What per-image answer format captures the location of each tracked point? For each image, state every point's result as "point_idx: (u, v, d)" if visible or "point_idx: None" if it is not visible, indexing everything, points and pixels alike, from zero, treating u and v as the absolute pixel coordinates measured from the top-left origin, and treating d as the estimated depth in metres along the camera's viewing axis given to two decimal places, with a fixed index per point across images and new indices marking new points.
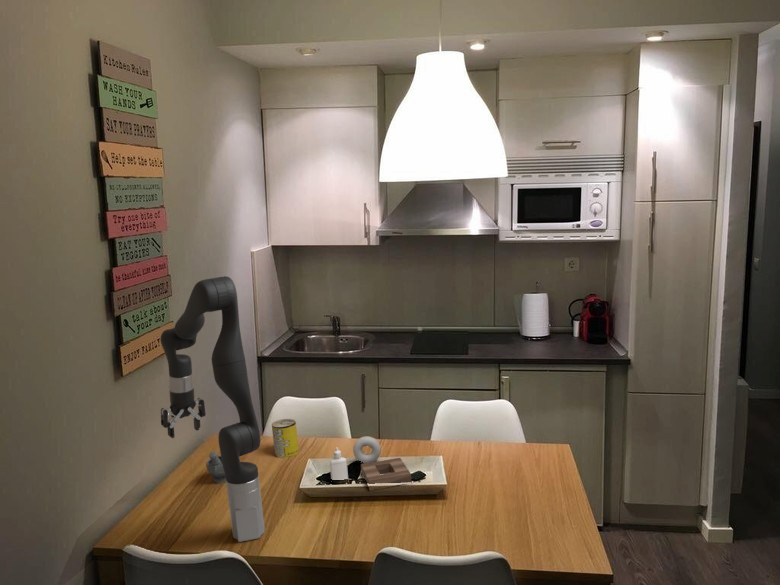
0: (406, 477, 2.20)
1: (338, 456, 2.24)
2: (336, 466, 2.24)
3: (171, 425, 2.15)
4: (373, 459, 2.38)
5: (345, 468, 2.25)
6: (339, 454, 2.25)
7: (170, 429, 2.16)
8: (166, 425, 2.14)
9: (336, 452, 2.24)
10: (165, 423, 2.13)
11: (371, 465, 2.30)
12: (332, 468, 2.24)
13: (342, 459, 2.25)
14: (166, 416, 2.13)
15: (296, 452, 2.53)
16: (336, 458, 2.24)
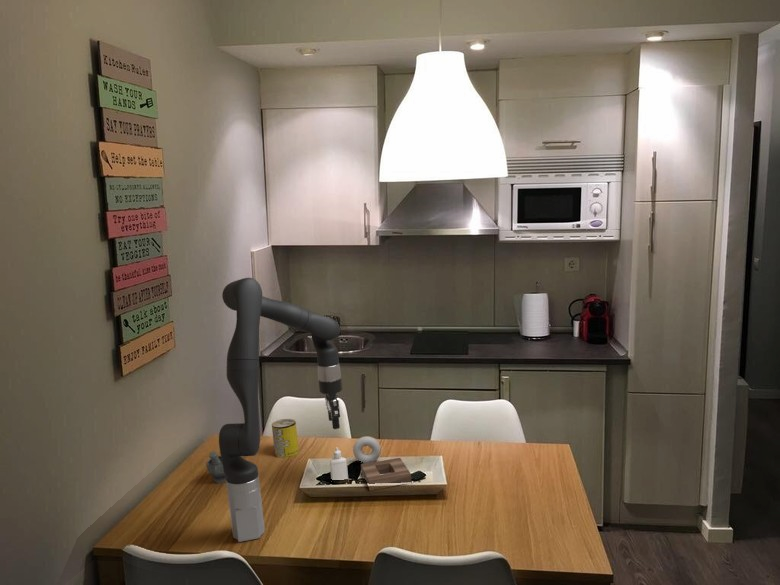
0: (406, 477, 2.20)
1: (338, 456, 2.24)
2: (336, 466, 2.24)
3: (327, 407, 2.27)
4: (373, 459, 2.38)
5: (345, 468, 2.25)
6: (339, 454, 2.25)
7: (328, 410, 2.28)
8: None
9: (336, 452, 2.24)
10: None
11: (371, 465, 2.30)
12: (332, 468, 2.24)
13: (342, 459, 2.25)
14: (325, 395, 2.28)
15: (296, 452, 2.53)
16: (336, 458, 2.24)
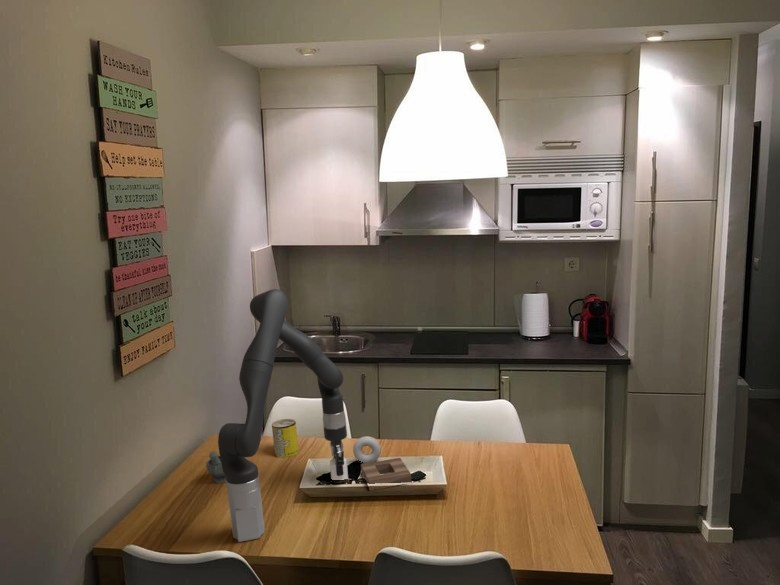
0: (406, 477, 2.20)
1: None
2: None
3: None
4: (373, 459, 2.38)
5: (345, 468, 2.25)
6: None
7: None
8: None
9: None
10: None
11: (371, 465, 2.30)
12: (332, 468, 2.24)
13: None
14: None
15: (296, 452, 2.53)
16: None
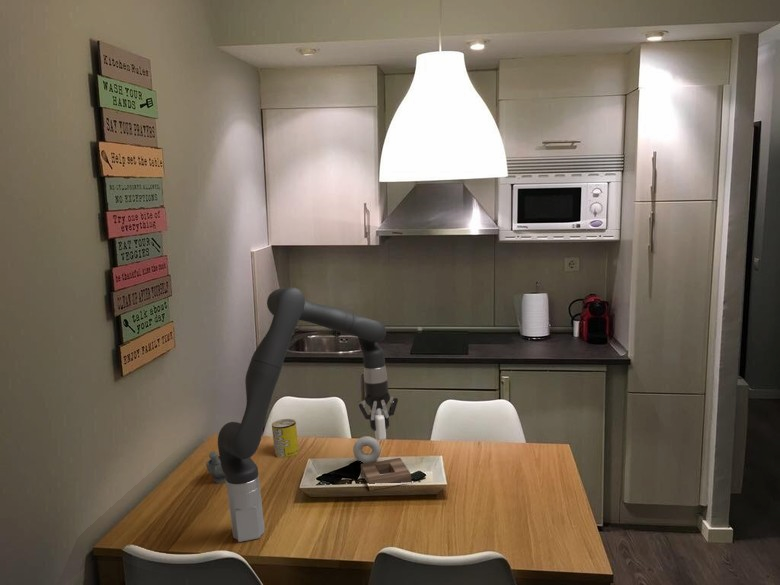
0: (406, 477, 2.20)
1: None
2: (384, 420, 2.24)
3: (372, 417, 2.22)
4: (373, 459, 2.38)
5: None
6: None
7: (371, 421, 2.23)
8: (367, 416, 2.21)
9: None
10: (365, 415, 2.21)
11: (371, 465, 2.30)
12: (384, 423, 2.22)
13: None
14: (363, 409, 2.21)
15: (296, 452, 2.53)
16: None
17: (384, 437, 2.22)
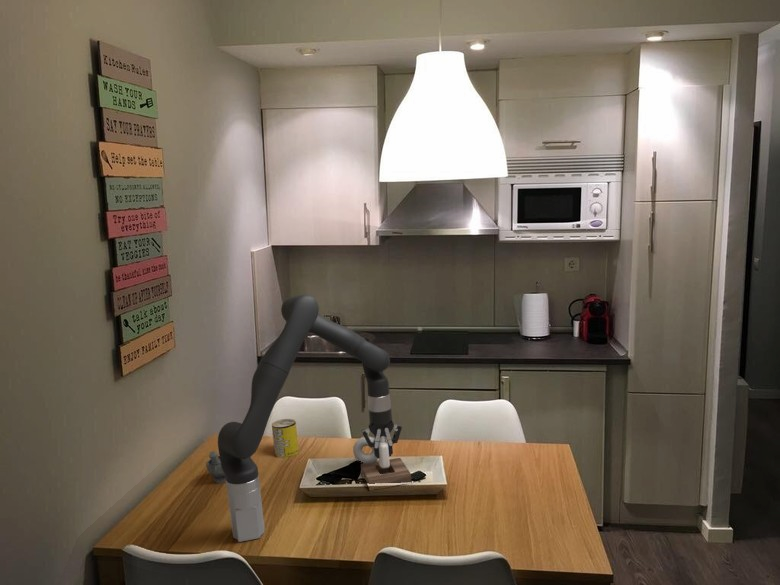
0: (406, 477, 2.20)
1: None
2: None
3: (376, 445, 2.23)
4: (373, 459, 2.38)
5: None
6: None
7: (375, 449, 2.23)
8: (370, 444, 2.22)
9: None
10: (369, 443, 2.22)
11: (371, 465, 2.30)
12: (388, 451, 2.23)
13: None
14: (367, 437, 2.22)
15: (296, 452, 2.53)
16: (385, 440, 2.24)
17: (388, 465, 2.23)
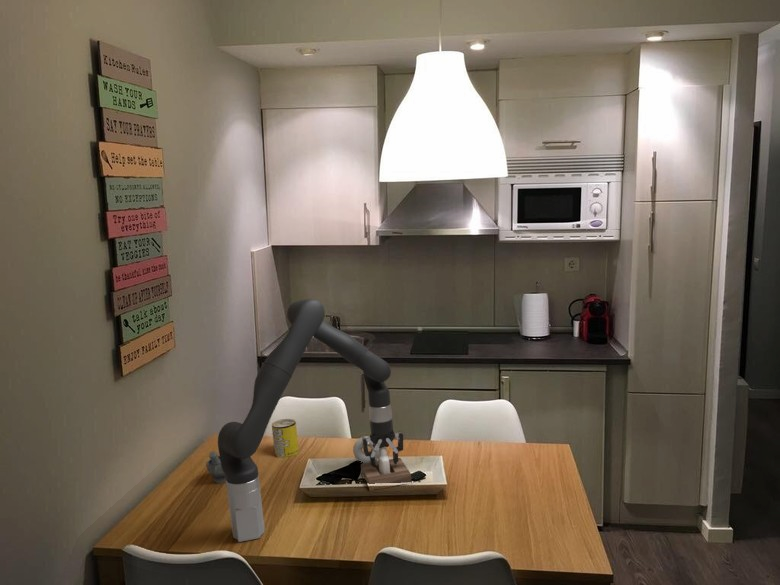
0: (406, 477, 2.20)
1: None
2: None
3: (372, 454, 2.23)
4: None
5: None
6: None
7: (371, 458, 2.23)
8: (367, 454, 2.22)
9: (385, 448, 2.24)
10: (366, 452, 2.22)
11: (371, 465, 2.30)
12: (389, 465, 2.24)
13: None
14: (366, 445, 2.22)
15: (296, 452, 2.53)
16: (386, 454, 2.25)
17: None
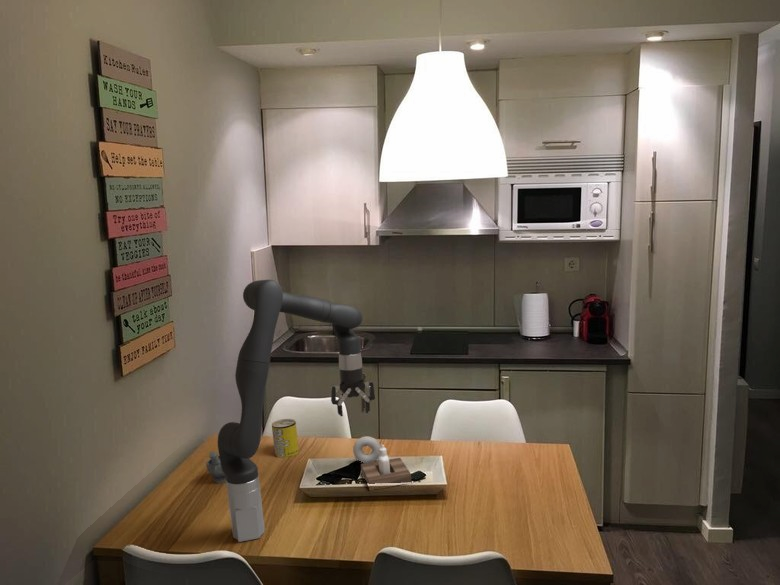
0: (406, 477, 2.20)
1: None
2: None
3: (339, 403, 2.20)
4: (373, 459, 2.38)
5: None
6: None
7: (338, 407, 2.21)
8: (334, 402, 2.19)
9: (385, 448, 2.24)
10: (333, 399, 2.19)
11: (371, 465, 2.30)
12: (389, 465, 2.24)
13: None
14: (334, 392, 2.19)
15: (296, 452, 2.53)
16: (386, 454, 2.25)
17: None
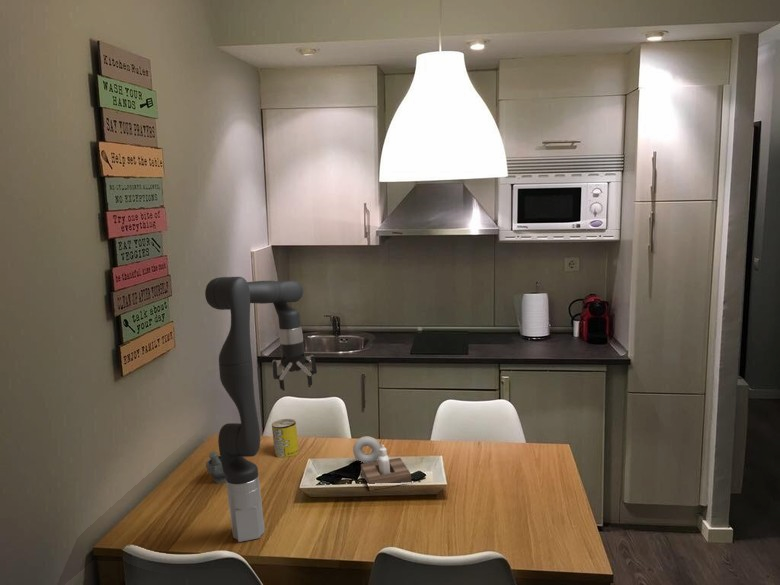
0: (406, 477, 2.20)
1: None
2: None
3: (280, 377, 2.20)
4: (373, 459, 2.38)
5: None
6: None
7: (280, 381, 2.21)
8: (275, 376, 2.20)
9: (385, 448, 2.24)
10: (274, 374, 2.20)
11: (371, 465, 2.30)
12: (389, 465, 2.24)
13: None
14: (275, 367, 2.19)
15: (296, 452, 2.53)
16: (386, 454, 2.25)
17: None
